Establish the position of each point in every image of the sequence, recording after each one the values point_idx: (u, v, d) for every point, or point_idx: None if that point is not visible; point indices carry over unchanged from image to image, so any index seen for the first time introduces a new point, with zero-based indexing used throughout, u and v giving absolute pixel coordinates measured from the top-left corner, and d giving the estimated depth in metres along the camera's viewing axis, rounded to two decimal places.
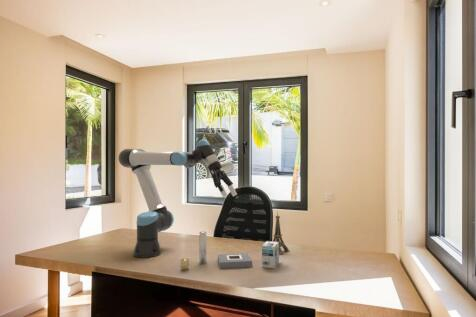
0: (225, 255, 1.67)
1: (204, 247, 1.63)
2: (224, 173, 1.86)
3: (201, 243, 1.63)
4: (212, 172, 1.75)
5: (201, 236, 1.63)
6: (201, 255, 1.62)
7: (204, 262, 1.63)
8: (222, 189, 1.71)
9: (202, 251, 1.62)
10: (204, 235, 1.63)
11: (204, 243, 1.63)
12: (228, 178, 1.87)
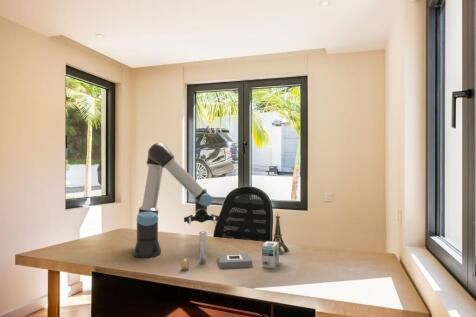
0: (225, 255, 1.67)
1: (204, 247, 1.63)
2: None
3: (201, 243, 1.63)
4: None
5: (201, 236, 1.63)
6: (201, 255, 1.62)
7: (204, 262, 1.63)
8: None
9: (202, 251, 1.62)
10: (204, 235, 1.63)
11: (204, 243, 1.63)
12: None
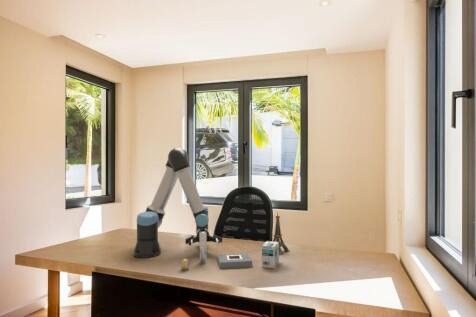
0: (225, 255, 1.67)
1: (204, 247, 1.63)
2: None
3: (201, 243, 1.63)
4: None
5: (201, 236, 1.63)
6: (201, 255, 1.62)
7: (204, 262, 1.63)
8: None
9: (202, 251, 1.62)
10: (204, 235, 1.63)
11: (204, 243, 1.63)
12: None
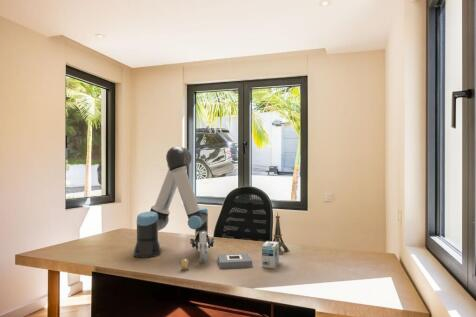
0: (225, 255, 1.67)
1: (204, 247, 1.63)
2: None
3: (201, 243, 1.63)
4: (213, 240, 1.75)
5: (201, 236, 1.63)
6: (201, 255, 1.62)
7: (204, 262, 1.63)
8: (209, 247, 1.63)
9: (202, 251, 1.62)
10: (204, 235, 1.63)
11: (204, 243, 1.63)
12: None
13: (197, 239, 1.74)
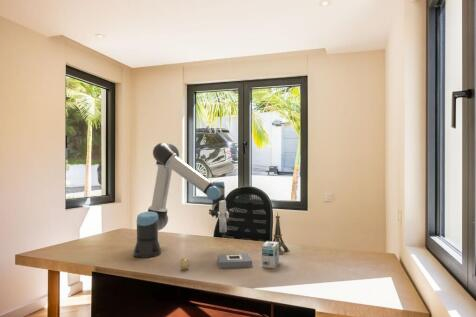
0: (225, 255, 1.67)
1: (224, 215, 1.62)
2: None
3: (221, 211, 1.62)
4: (232, 211, 1.75)
5: (221, 204, 1.62)
6: (221, 223, 1.62)
7: (224, 230, 1.62)
8: None
9: (222, 219, 1.62)
10: (224, 203, 1.62)
11: (224, 211, 1.63)
12: None
13: (216, 209, 1.74)
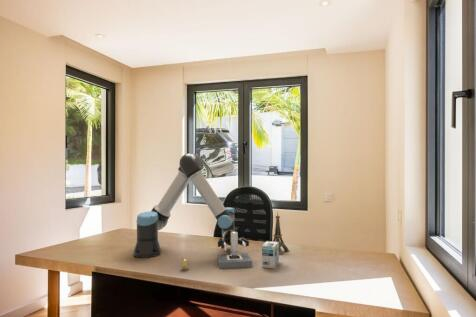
0: (225, 255, 1.67)
1: (236, 247, 1.62)
2: None
3: (233, 243, 1.62)
4: None
5: (233, 236, 1.62)
6: (233, 255, 1.62)
7: None
8: (245, 246, 1.64)
9: (234, 251, 1.62)
10: (235, 235, 1.62)
11: (236, 243, 1.62)
12: None
13: (225, 239, 1.73)
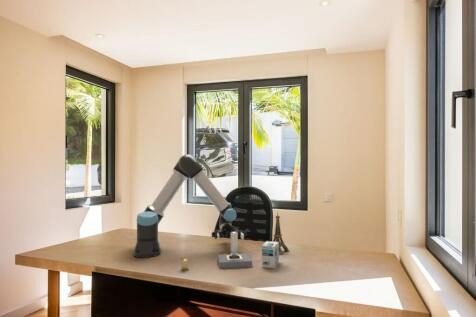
0: (225, 255, 1.67)
1: (236, 247, 1.62)
2: None
3: (233, 243, 1.62)
4: None
5: (233, 236, 1.62)
6: (233, 255, 1.62)
7: None
8: (243, 237, 1.79)
9: (234, 251, 1.62)
10: (235, 235, 1.62)
11: (236, 243, 1.62)
12: None
13: (222, 230, 1.87)
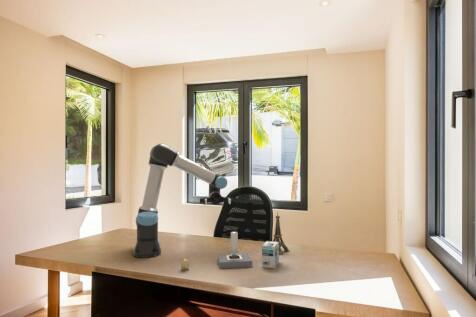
0: (225, 255, 1.67)
1: (236, 247, 1.62)
2: None
3: (233, 243, 1.62)
4: None
5: (233, 236, 1.62)
6: (233, 255, 1.62)
7: None
8: None
9: (234, 251, 1.62)
10: (235, 235, 1.62)
11: (236, 243, 1.62)
12: None
13: (210, 197, 1.91)
